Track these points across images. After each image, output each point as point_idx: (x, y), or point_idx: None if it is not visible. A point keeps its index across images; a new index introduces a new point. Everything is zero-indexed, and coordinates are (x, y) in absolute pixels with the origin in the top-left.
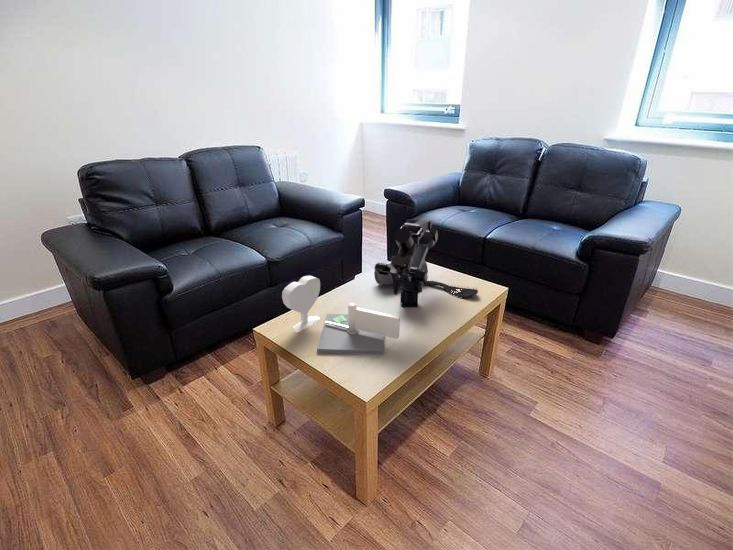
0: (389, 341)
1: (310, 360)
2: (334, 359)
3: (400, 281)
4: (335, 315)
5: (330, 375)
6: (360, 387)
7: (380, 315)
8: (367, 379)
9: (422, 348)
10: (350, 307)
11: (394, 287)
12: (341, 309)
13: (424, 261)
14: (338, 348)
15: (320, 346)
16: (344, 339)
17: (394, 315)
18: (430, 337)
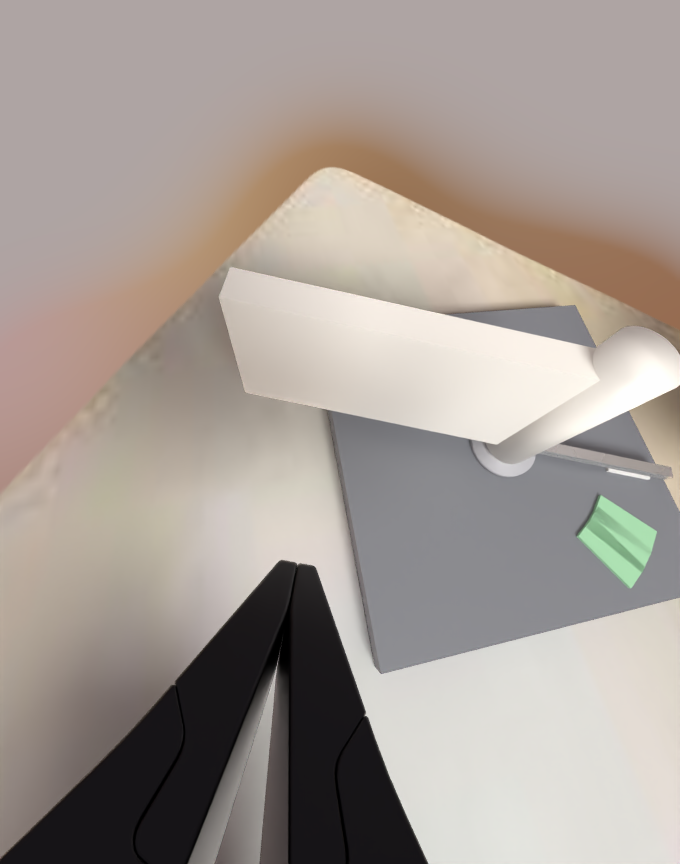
0: (300, 428)
1: (558, 279)
2: (486, 291)
3: (124, 839)
4: (664, 581)
5: (462, 227)
6: (355, 193)
7: (379, 303)
8: (343, 220)
9: (126, 401)
10: (637, 329)
11: (318, 647)
12: (677, 713)
13: None
14: (501, 316)
15: (572, 318)
16: None
17: (266, 305)
18: (61, 507)
